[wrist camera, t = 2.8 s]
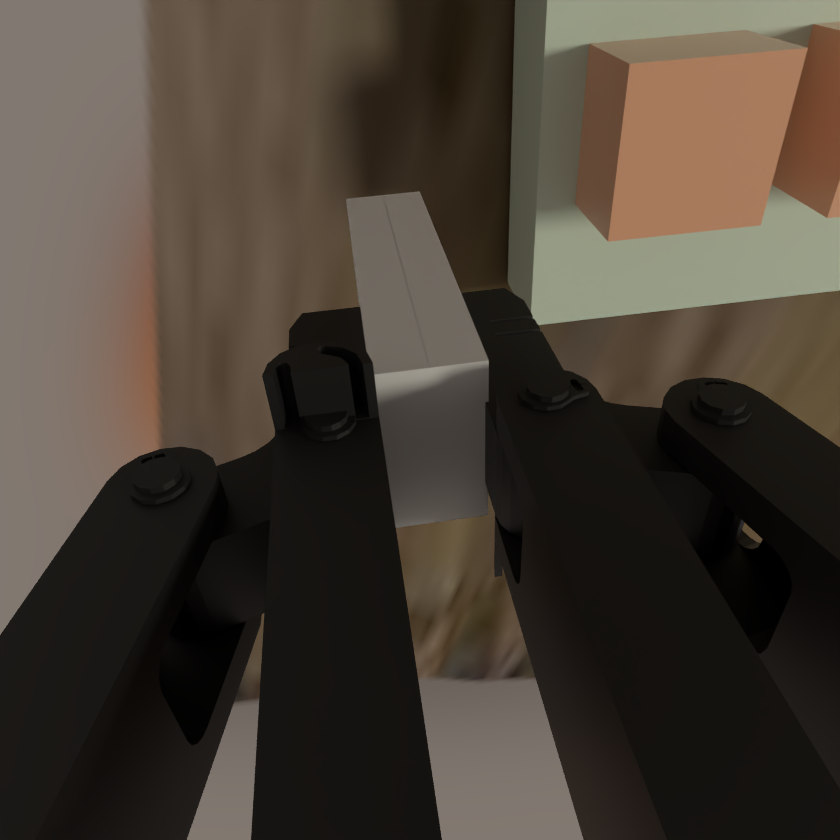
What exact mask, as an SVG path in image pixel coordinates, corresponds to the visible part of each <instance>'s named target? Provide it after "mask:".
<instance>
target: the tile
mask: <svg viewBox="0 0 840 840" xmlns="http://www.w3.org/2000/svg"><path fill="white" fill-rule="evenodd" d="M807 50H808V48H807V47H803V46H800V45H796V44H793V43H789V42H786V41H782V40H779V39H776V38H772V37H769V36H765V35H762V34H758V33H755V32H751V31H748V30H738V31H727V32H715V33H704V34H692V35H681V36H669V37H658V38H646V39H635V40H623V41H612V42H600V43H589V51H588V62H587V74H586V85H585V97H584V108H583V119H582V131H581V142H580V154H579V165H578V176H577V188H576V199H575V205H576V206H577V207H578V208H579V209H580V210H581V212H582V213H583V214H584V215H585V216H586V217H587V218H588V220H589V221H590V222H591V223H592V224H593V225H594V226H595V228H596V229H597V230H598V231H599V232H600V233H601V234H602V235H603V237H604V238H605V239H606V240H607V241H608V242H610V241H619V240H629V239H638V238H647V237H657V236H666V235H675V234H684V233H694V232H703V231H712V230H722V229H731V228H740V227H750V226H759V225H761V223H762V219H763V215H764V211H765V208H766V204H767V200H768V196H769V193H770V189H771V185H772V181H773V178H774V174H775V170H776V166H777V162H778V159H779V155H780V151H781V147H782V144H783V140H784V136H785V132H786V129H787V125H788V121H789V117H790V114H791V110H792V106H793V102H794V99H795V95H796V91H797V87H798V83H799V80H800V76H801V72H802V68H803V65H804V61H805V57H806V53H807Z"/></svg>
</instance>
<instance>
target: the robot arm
mask: <svg viewBox="0 0 840 840" xmlns="http://www.w3.org/2000/svg"><path fill="white" fill-rule="evenodd" d="M346 203H347V211H348V219H349V227H350V235H351V243H352V251H353V259H354V267H355V275H356V283H357V291H358V299H359V307H354V308H345V309H337V310H328V311H319V312H310V313H302V314H301V316H300V317H299V318H298V319H297V321H296V322H295V323H294V325H293V326H292V327H291V328H290V330H289V350H287V351H285V352H282V353H280V354H279V355H278V356H276V357H275V358H274V359H273V360H272V361H271V362H269V363H268V364H267V366H266V369H265V371H264V373H263V375H262V377H263V381H264V385H265V389H266V394H267V398H268V402H269V406H270V410H271V414H272V419H273V423H274V427H275V437H274V438H273V439H272V440H271V441H270V442H269V443H267V444H266V445H264V446H263V447H261V448H260V449H258V450H257V451H255V452H252V453H250V454H248V455H246V456H243V457H241V458H238V459H235V460H232V461H230V462H227V463H224V464H221V465H218V466H216V465H215V462H214V460H213V458H212V457H210V456H209V455H207V454H206V453H204V452H202V451H201V450H198V449H192V448H186V447H175V448H165V449H159V450H156V451H153V452H150V453H148V454H144V455H141V456H139V457H137V458H136V459H134V460H132V461H131V462H129V463H127V464H126V465H124V466H122V467H121V468H120V469H119V470H118V471H117V472H116V473H115V474H114V475H113V476H112V477H111V478H110V479H109V480H108V481H107V482H106V484H105V485H104V487H103V488H102V489H101V491H100V492H99V494H98V495H97V497H96V498H95V500H94V501H93V503H92V504H91V505H90V507H89V508H88V510H87V511H86V512H85V514H84V515H83V517H82V518H81V520H80V521H79V523H78V524H77V525H76V527H75V528H74V530H73V531H72V533H71V534H70V536H69V537H68V539H67V540H66V541H65V543H64V544H63V546H62V547H61V549H60V550H59V552H58V553H57V554H56V556H55V557H54V559H53V560H52V561H51V563H50V564H49V566H48V567H47V569H46V570H45V571H44V573H43V574H42V576H41V578H40V579H39V580H38V582H37V583H36V584H35V586H34V587H33V589H32V590H31V592H30V593H29V595H28V596H27V597H26V599H25V600H24V602H23V603H22V605H21V606H20V608H19V609H18V610H17V612H16V613H15V615H14V616H13V618H12V619H11V620H10V622H9V623H8V625H7V626H6V628H5V629H4V631H3V632H2V633H1V635H0V840H187V837H188V834H189V831H190V828H191V825H192V822H193V820H194V816H195V814H196V810H197V808H198V805H199V802H200V799H201V796H202V793H203V790H204V788H205V784H206V782H207V779H208V776H209V773H210V770H211V767H212V764H213V761H214V758H215V756H216V752H217V750H218V746H219V744H220V741H221V738H222V735H223V732H224V729H225V726H226V723H227V721H228V717H229V715H230V712H231V709H232V706H233V703H234V700H235V697H236V694H237V691H238V689H239V686H240V683H241V680H242V677H243V674H244V671H245V668H246V665H247V662H248V659H249V657H250V654H251V651H252V648H253V645H254V642H255V639H256V636H257V633H258V630H259V627H260V625H261V616H262V614H263V613H265V614H264V631H263V647H262V664H261V681H260V698H259V715H258V732H257V750H256V766H255V784H254V800H253V817H252V835H251V840H442V838H441V831H440V824H439V818H438V811H437V804H436V797H435V791H434V785H433V777H432V770H431V763H430V757H429V750H428V743H427V737H426V730H425V723H424V716H423V709H422V703H421V696H420V690H419V682H418V676H417V669H416V662H415V655H414V648H413V642H412V635H411V628H410V621H409V615H408V608H407V601H406V594H405V588H404V581H403V574H402V567H401V561H400V554H399V547H398V540H397V534H396V528H397V527H404V526H411V525H419V524H426V523H433V522H440V521H448V520H455V519H462V518H469V517H476V516H484V515H488V493H489V496H490V499H491V502H492V505H493V508H494V512H495V554H494V569H495V577H497V576H502V566H503V569H504V573H505V576H506V579H507V583H508V586H509V590H510V593H511V596H512V600H513V603H514V606H515V610H516V613H517V617H518V620H519V623H520V627H521V630H522V633H523V637H524V640H525V644H526V647H527V650H528V654H529V657H530V660H531V664H532V667H533V670H534V674H535V677H536V681H537V684H538V687H539V691H540V694H541V697H542V701H543V704H544V707H545V711H546V714H547V717H548V721H549V724H550V728H551V731H552V735H553V738H554V741H555V745H556V748H557V751H558V754H559V758H560V761H561V765H562V768H563V772H564V775H565V778H566V781H567V785H568V788H569V792H570V795H571V798H572V802H573V805H574V809H575V812H576V815H577V819H578V822H579V825H580V829H581V832H582V836H583V838H584V840H840V447H838V446H837V445H835V444H834V443H833V442H831V441H830V440H828V439H827V438H825V437H824V436H823V435H821V434H820V433H818V432H817V431H815V430H814V429H812V428H811V427H810V426H808V425H807V424H805V423H804V422H802V421H801V420H799V419H798V418H797V417H795V416H794V415H792V414H791V413H789V412H788V411H786V410H785V409H784V408H782V407H781V406H779V405H778V404H776V403H775V402H774V401H772V400H771V399H769V398H768V397H766V396H765V395H763V394H762V393H760V392H758V391H756V390H754V389H752V388H750V387H748V386H746V385H744V384H740V383H737V382H733V381H729V380H726V379H720V378H697V379H691V380H684V381H682V382H680V383H678V384H676V385H674V386H672V387H671V388H670V389H669V391H668V392H667V393H666V395H665V396H664V399H663V404H662V408H653V407H640V406H627V405H620V404H613V403H609V402H605V401H604V400H603V399H602V397H601V395H600V394H599V392H598V390H597V389H596V388H595V387H594V386H593V385H592V384H591V383H590V382H589V381H588V380H587V379H585V378H583V377H581V376H579V375H577V374H575V373H573V372H570V371H565V370H563V368H562V367H561V365H560V363H559V361H558V359H557V358H556V356H555V354H554V352H553V351H552V349H551V347H550V345H549V344H548V342H547V340H546V338H545V336H544V335H543V333H542V332H540V328H539V326H538V324H537V322H536V321H535V319H533V315H532V313H531V312H530V310H529V308H528V306H527V305H526V303H525V301H524V300H523V299H521V298H520V297H518V296H516V295H515V294H513V293H512V292H510V291H508V290H507V289H505V288H502V289H493V290H484V291H475V292H466V293H461V291H460V289H459V287H458V284H457V282H456V279H455V277H454V274H453V272H452V269H451V267H450V265H449V262H448V260H447V257H446V255H445V252H444V250H443V247H442V245H441V243H440V240H439V238H438V235H437V233H436V230H435V228H434V225H433V223H432V221H431V218H430V216H429V213H428V211H427V208H426V206H425V203H424V201H423V199H422V196H421V194H420V191H418V192H409V193H399V194H389V195H379V196H370V197H360V198H350V199H346ZM744 522H745V523H746V524H747V525H748V526H749V527H750V528H751V529H752V530H754V531H755V532H756V533H757V534H758V535H759V536H760V537H761V538H762V539H763V540H762V542H761V543H758V542H756V541H754V540H753V539H751V538H750V537H749V536H748V535H747V534H746V533H744V532H743V531H742V528H743V525H744Z"/></svg>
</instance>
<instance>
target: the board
mask: <svg viewBox="0 0 840 840" xmlns="http://www.w3.org/2000/svg"><path fill="white" fill-rule="evenodd" d="M830 22H840V0H515V26H514V64H513V101H512V138H511V175H510V212H509V249H508V284H509V286H510V288H511V290H512V292H513V293H514V294H515V295H516V296H518V297H520V298H521V299H523V300H524V301H525V303H526V305H527V306H528V308H529V310H530V312H531V313H532V315H533V319H535V321H536V322H537V324H538V325H542V324H551V323H559V322H568V321H577V320H585V319H594V318H603V317H612V316H620V315H629V314H638V313H646V312H655V311H664V310H672V309H681V308H690V307H698V306H707V305H716V304H725V303H733V302H742V301H751V300H759V299H768V298H777V297H785V296H794V295H803V294H811V293H820V292H829V291H838V290H840V217H834V218H826V217H824V216H823V215H821V214H819V213H818V212H816V211H815V210H813V209H811V208H810V207H808V206H806V205H805V204H803V203H801V202H800V201H798V200H796V199H795V198H793V197H792V196H790V195H788V194H787V193H785V192H783V191H782V190H780V189H778V188H777V187H775V186H773V185H771V189H770V193H769V196H768V200H767V204H766V208H765V211H764V215H763V219H762V223H761V225H759V226H750V227H740V228H731V229H722V230H712V231H703V232H694V233H684V234H675V235H666V236H657V237H647V238H638V239H629V240H619V241H610V242H608V241H607V240H606V239H605V238H604V237H603V235H602V234H601V233H600V232H599V231H598V230H597V229H596V228H595V226H594V225H593V224H592V223H591V222H590V221H589V220H588V218H587V217H586V216H585V215H584V214H583V213H582V212H581V210H580V209H579V208H578V207H577V206H576V205H575V199H576V188H577V176H578V165H579V154H580V142H581V131H582V119H583V108H584V97H585V85H586V74H587V62H588V51H589V43H600V42H612V41H623V40H635V39H646V38H658V37H669V36H681V35H692V34H704V33H715V32H727V31H738V30H748V31H751V32H755V33H758V34H762V35H765V36H769V37H772V38H776V39H779V40H782V41H786V42H789V43H793V44H796V45H800V46H803V47H808V43H809V39H810V35H811V32H812V28H813V24H819V23H830Z"/></svg>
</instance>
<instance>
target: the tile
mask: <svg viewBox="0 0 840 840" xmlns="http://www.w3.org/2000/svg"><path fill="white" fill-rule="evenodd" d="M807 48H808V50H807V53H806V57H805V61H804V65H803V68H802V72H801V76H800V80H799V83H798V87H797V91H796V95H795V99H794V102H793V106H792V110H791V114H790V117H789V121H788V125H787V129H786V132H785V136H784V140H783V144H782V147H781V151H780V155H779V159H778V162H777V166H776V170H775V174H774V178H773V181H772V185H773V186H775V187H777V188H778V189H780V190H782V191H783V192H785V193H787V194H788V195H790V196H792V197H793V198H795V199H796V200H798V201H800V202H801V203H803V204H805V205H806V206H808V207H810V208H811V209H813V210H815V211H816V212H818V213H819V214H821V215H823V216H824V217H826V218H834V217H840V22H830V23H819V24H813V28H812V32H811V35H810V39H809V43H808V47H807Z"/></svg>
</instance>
